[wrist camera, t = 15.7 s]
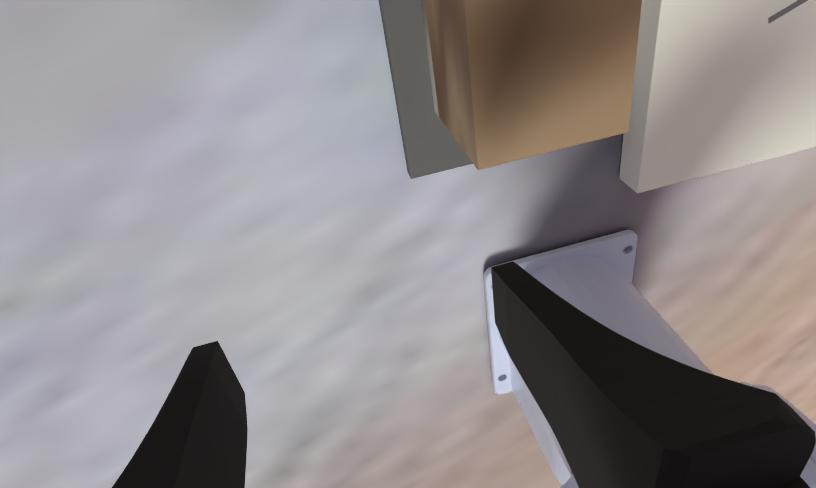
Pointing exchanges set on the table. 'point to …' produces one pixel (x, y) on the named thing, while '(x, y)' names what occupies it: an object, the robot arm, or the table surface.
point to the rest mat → (416, 92)
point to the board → (719, 88)
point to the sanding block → (531, 73)
